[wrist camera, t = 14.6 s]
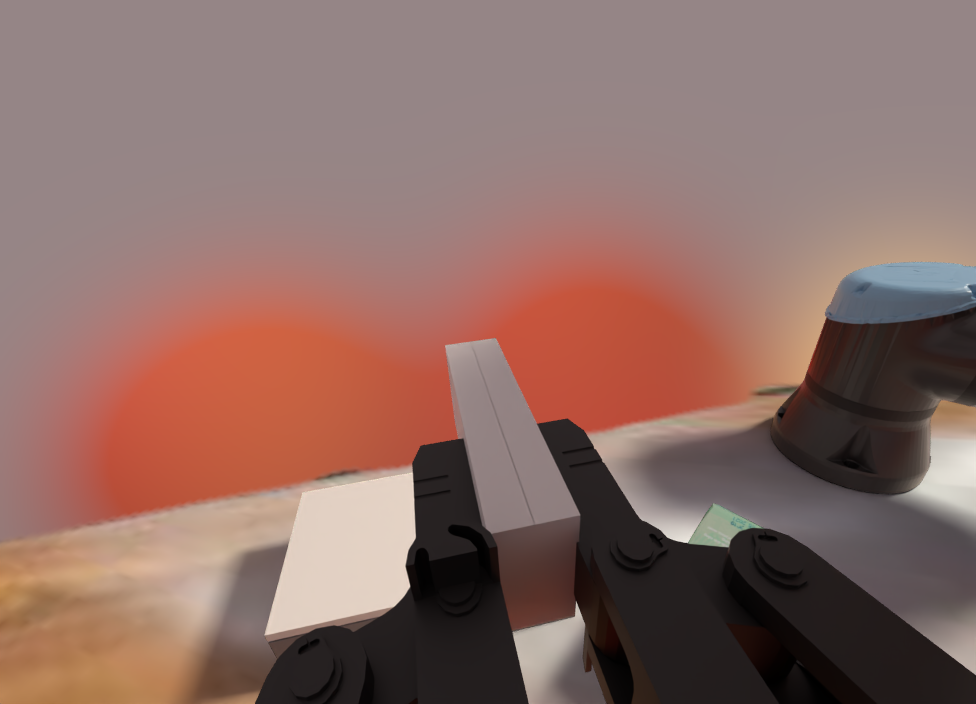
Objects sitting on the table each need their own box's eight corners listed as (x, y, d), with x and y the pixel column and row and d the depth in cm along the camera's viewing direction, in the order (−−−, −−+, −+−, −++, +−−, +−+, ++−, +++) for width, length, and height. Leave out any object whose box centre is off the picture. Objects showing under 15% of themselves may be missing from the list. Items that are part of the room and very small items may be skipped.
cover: (530, 456, 46) (530, 451, 46) (577, 571, 34) (578, 565, 34) (304, 497, 43) (302, 492, 43) (267, 641, 31) (264, 635, 30)
